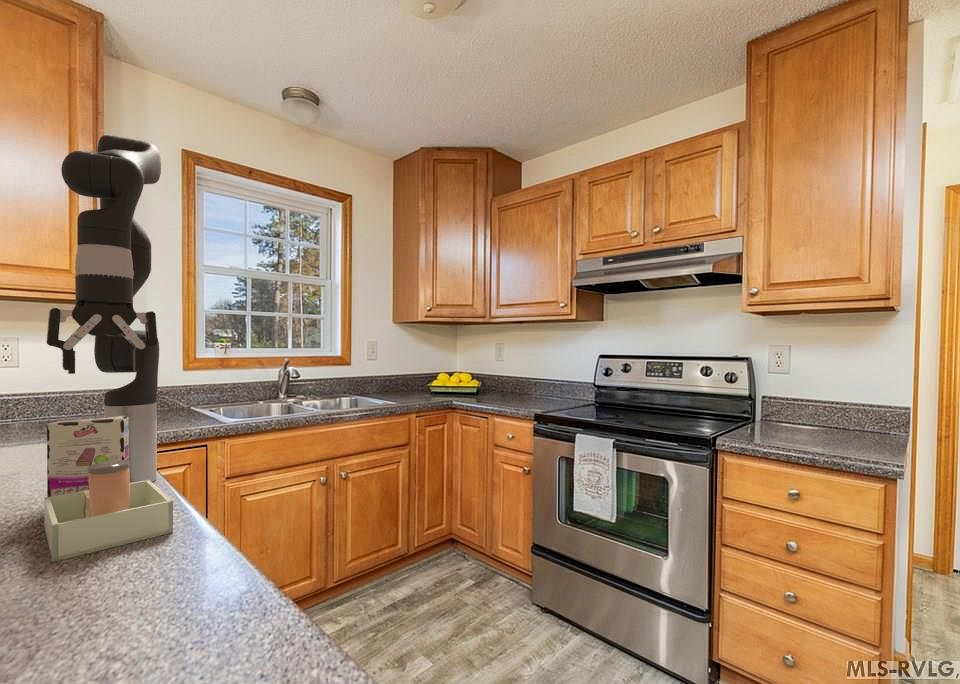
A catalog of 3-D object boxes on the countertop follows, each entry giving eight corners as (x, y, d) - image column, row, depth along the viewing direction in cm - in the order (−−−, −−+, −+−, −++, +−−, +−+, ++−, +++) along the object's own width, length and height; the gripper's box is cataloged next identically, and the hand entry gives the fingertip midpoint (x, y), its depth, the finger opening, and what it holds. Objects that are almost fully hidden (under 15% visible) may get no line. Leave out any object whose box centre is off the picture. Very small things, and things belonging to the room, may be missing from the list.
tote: (44, 528, 76) (44, 497, 76) (148, 506, 87) (149, 479, 87) (52, 562, 64) (52, 525, 64) (172, 532, 75) (172, 501, 75)
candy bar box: (130, 498, 91) (130, 414, 91) (124, 506, 87) (124, 418, 87) (55, 508, 86) (55, 419, 86) (45, 517, 82) (45, 423, 82)
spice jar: (95, 528, 74) (94, 462, 74) (134, 523, 76) (133, 458, 76) (84, 542, 70) (82, 471, 69) (126, 535, 72) (124, 467, 71)
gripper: (151, 281, 86) (151, 369, 86) (45, 273, 76) (45, 373, 76) (161, 277, 81) (161, 371, 81) (48, 268, 70) (48, 375, 70)
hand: (105, 372), depth 78 cm, fingers open, 8 cm apart
